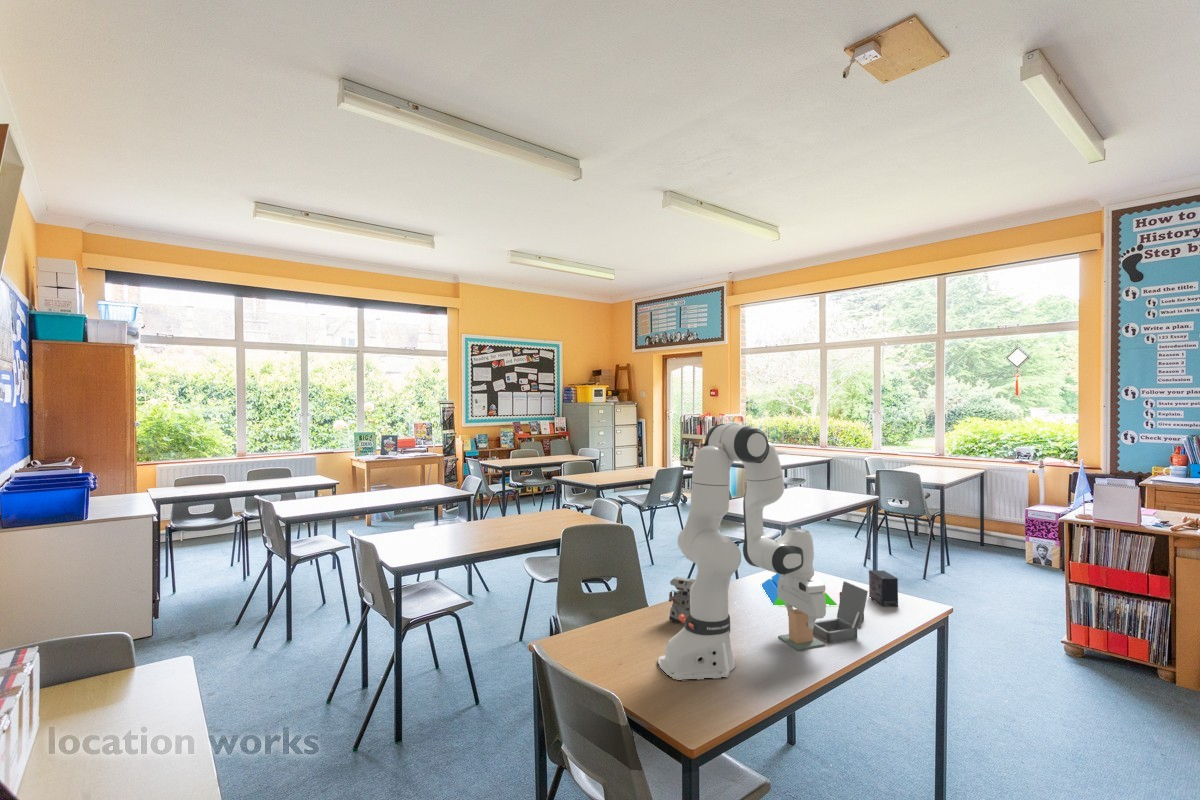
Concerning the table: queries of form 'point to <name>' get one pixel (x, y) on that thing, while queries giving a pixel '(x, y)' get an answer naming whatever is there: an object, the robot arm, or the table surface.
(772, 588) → the pyramid toy
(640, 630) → the table surface
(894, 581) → the small box
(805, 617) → the block
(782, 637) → the rubber mat
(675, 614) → the figurine
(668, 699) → the table surface
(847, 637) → the equipment case
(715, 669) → the robot arm
